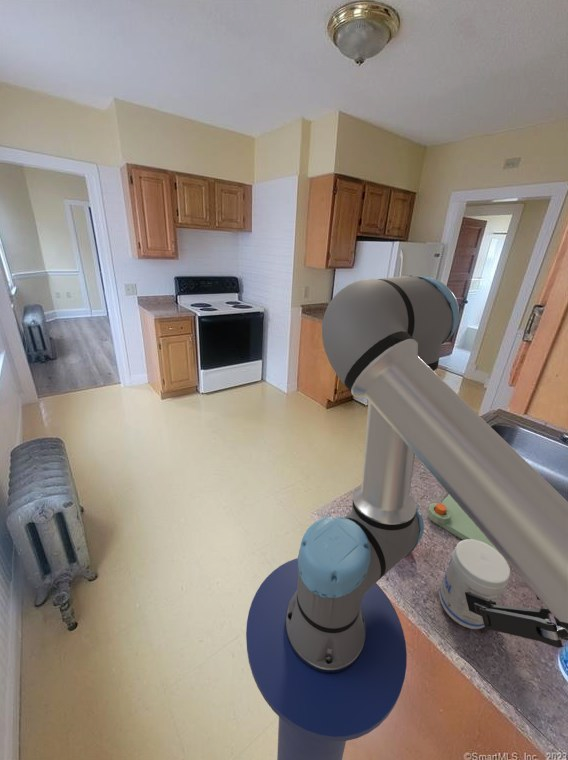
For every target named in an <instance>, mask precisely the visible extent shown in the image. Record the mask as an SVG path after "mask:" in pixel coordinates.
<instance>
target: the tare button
mask: <svg viewBox="0 0 568 760" xmlns="http://www.w3.org/2000/svg"><path fill="white" fill-rule="evenodd" d="M437 503H438V504H436V507H435V512H436V513H437V514H439V515H445V513H446V509H447V508H446V506H445V505H443V504H441V503H442V502H441V503H439V502H437Z"/></svg>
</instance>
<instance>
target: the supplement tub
mask: <svg viewBox="0 0 568 760" xmlns="http://www.w3.org/2000/svg"><path fill="white" fill-rule="evenodd" d="M510 577H511V568H510V564H509V563H508V562H507V561H506V560H505V558H504V557H503V556H502V555H501V554H500V553H499V551H497V550H495V549H494V548H493V547H491V546H489V545H488V544H486V543H483V542H481V541H478V540H473V539H466V540H462V539H461V540H460V541H459V542H458V543H457V544H456V547H455V548H454V549H453V552H452V554H451V557H450V560H449V564H448V566H447V568H446V571H445V574H444V577H443V580H442V582H441V586H440V588H439V593H438V595H439V600H440V603H441V606H442V608H443V609H444V611H445V612H446V614H447V615H448V616H449V617H450V618H451V619H452V620H453V621H454V622H456V623H457V624H458V625H460V626H462V627H465V628H467V629H470V630H481V629H483V628H485V626H484V622H483V619H482V616H480V615H478V614H475V613H473V612H471V611H469V608H468V604H467V600H466V596H465V592H470V593H473V594H475V595H478V596H481V597H483V598H486V599H491V601H494V602H496V605H499V602H500V600H501V598H502V596H503V593H504V592H505V591H506V588H507V586H508V583H509V582H510Z"/></svg>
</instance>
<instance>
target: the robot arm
mask: <svg viewBox="0 0 568 760" xmlns="http://www.w3.org/2000/svg"><path fill="white" fill-rule="evenodd" d="M459 309H460V307H459V304H458V301H457V298H456V296H455V295H454V293H453V291H451V289H450V288H449V287H448V286H447V285H446V284H445V283H443V282H442V281H441V280H438V279H436V278H434V277H430V276H421V275H414V274H411V275H400V276H393V277H383V278H367V279H366V278H365V279H361V280H357V281H354V282H352V283H349V284H348V285H345V287H343V288H341V289H340V290H339V291H338V292H337V293H336V294H335V295H334V296H333V297H332V299H331V300H330V302H329V303H328V305H327V307H326V309H325V312H324V314H323V319H322V323H321V338H322V345H323V349H324V352H325V355H326V358H327V360H328V363H329V364H330V366H331V368H332V370H333V371H334V373H335V375H336V376H337V378H338V379H339V380H340V381H341V383H342V385H344V387H345V388H346V389H347V390H348V391H349V392H350V393H351V395H352V396H353V397H354V398H357V399H366V400H367V410H366V411H367V412H366V427H365V438H364V450H363V451H364V452H363V464H362V465H363V466H362V480H361V484H359V485H357V486H356V488H355V489H354V491H353V493H352V507H351V511H350V512H349V513H348V514H347V515H346V516H343V517H342V516H336V518H334V517H333V516H325V517H323V518H320V519H317V520H316V521H314V523H312V524H311V525H310V526H309V527H308V528H307V529H306V530H305V532H304V534H303V536H302V538H301V541H300V546H299V549H298V555H297V558H298V584H297V591H296V592H295V594H294V595H293V596H292V598H291V600H290V602H289V604H288V608H287V612H286V634H287V638H288V641H289V644H290V646H291V648H292V650H293V652H294V653H295V655H296V656H297V657H298V659H299V660H300V661H301V662H302V663H303V664H305V665H306V666H307V667H309V668H310V669H312V670H314V671H317V672H319V673H323V674H337V673H341V672H343V671H345V670H347V669H349V668H350V667H351V666H353V665H354V664H355V662H356V661H357V660H358V658H359V657H360V655H361V652H362V650H363V646H364V641H365V635H366V626H365V620H364V616H363V613H362V611H361V608H360V606H361V601H362V597H363V595H364V594H365V593H366V592H367V591H368V590H369V589H370V588H371V587H372V586H373V585H374V584H375V583H378V582H379V581H380V580H381V579H383V577H384V576H385V575H386V574H387V573H388V572H390V571H391V569H393V568H394V567H395V566H396V565H397V564H398V563H399V562H401V560H403V558H405V557H406V556H408V555H409V554H411V553H412V552H413V551H414V550H415V548H417V546H418V544H419V543H420V542H421V540H422V538H423V535H424V531H425V530H424V529H425V524H424V518H423V514H422V513H420V512H419V509H420V508H419V506H418V504H417V502H416V500H415V498H414V497H413V495H412V494H411V488H412V487H411V486H412V478H413V470H414V465H415V459H416V458H417V459H418V460H419V461H420V462H421V464H422V465H423V466H424V467H425V468H426V469H427V470H428V472H430V474H431V475H432V476H433V477H434V478H435V480H436V481H437V482H438V483H439V484H440V485H441V486H442V488H443V489H444V490H445V491H446V493H448V495H450V496H451V497H452V498H453V499H454V500H455V501H456V503H457V504H458V505H459V506H460V507H461V508H462V510H463V511H464V512H465V513H466V514H467V515H468V517H469V518H470V519H471V520H472V521H473V522H474V524H475V525H476V526H477V527H478V528H479V529H480V531H481V532H482V533H483V534H484V535H485V536H486V538H487V539H488V540H489V541H490V542H491V543H492V544H493V546H494V547H495V548H496V549H497V550H498V552H499V553H500V554H501V555H502V556H503V557H504V559H505V560H506V562H507V563H508V565H509V566H510V567H511V568H512V569H513V570H514V571H515V573H516V574H517V575H518V576H519V577H520V578H521V580H522V581H523V582H524V584H526V586H528V588H529V589H530V590H531V592H533V594H534V595H535V597H536V600H538V601H540V602H542V603H541V604H543V605H542V606H541V607H540V609H538V608H527V607H518V606H509V605H499V604H497V605H496V602H494V601H491V599H486V598H483V597H481V596H478V595H475V594H473V593H470V592H465V596H466V600H467V604H468V608H469V611H471V612H473V613H475V614H478V615H480V616H482V619H483V622H484V626H485V627H484V628H485V629H486V630H489V631H490V630H491V631H495V632H497V633H498V632H499V633H504V634H507V635H511V636H516V637H519V638H524V639H528V640H532V641H536V642H541V643H544V644H546V645H549V646H551V647H553V648H557V649H561V648H563V647H564V645H563V641H562V640H564V641H568V500H566V499H565V497H564V496H563V495H561V493H559V492H558V491H557V490H556V489H555V488H554V487H553V486H552V485H551V484H550V483H549V482H548V481H547V480H546V479H545V478H544V477H543V476H542V475H541V474H540V473H539V472H538V471H537V470H536V469H535V468H534V467H533V466H532V465H530V463H529V462H528V461H526V459H524V458H523V456H521V455H520V454H519V453H518V452H517V451H516V449H514V448H513V447H512V446H511V445H510V444H509V443H508V442H507V441H506V440H505V439H504V438H503V437H502V436H501V435H500V434H499V433H498V432H497V431H496V430H495V429H494V428H492V427H491V425H489V423H488V422H486V421H485V420H484V418H483V417H481V416H480V415H479V414H478V412H476V411H475V409H473V408H472V407H471V406H470V405H469V404H468V403H467V402H466V401H465V400H464V399H463V398H462V397H461V396H460V395H459V394H458V393H457V392H456V391H454V390H453V388H451V386H450V385H448V384H447V382H445V381H444V380H443V378H441V376H439V374H437V373H436V372H437V371H438V369H439V363H440V357H441V351H442V350H441V349H442V345H444V344H445V343H446V342H447V341H449V339H451V337H452V336H453V335H454V333H455V331H456V330H457V327H458V324H459V320H460V310H459ZM415 456H416V458H415ZM550 614H552V615H553V618H554V621H552V620H551V616H550Z"/></svg>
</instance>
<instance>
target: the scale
mask: <svg viewBox="0 0 568 760" xmlns="http://www.w3.org/2000/svg"><path fill="white" fill-rule="evenodd" d="M438 503H439V502H434V503H430V505H429V506H428V509H427V515H428V516H429V520H430V521H431V522H432V523H435V524H436V525H437V526H439V527H441V528H442V529H444V530H446V531H447V532H449V533H451V534H452V535H454V536H456V537H457V538H459V539H460V540H461V541H462V540H466V539H473V540H478V541H481V542H483V543H486V544H488V545H489V546H491V547H493V548H494V549H495V550H497V549H496V548H495V547H494V546H493V544H492V543H491V542H490V541H489V540H488V539H487V538H486V536H485V535H484V534H483V533H482V532H481V531H480V529H479V528H478V527H477V526H476V525H475V524H474V522H473V521H472V520H471V519H470V518H469V517H468V515H467V514H466V513H465V512H464V511H463V510H462V508H461V507H460V506H459V505H458V504H457V503H456V501H455V500H454V499H453V498H452V497H451V496H450V495H449V494H448V495H447V496H446V497H445V498H444V499H443V500H442V501H441V504H443V505H445V506H446V508H447V509H446V513H445V515H439V514H437V513H436V512H435V507H436V504H438ZM497 551H498V550H497ZM498 552H499V551H498Z"/></svg>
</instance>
